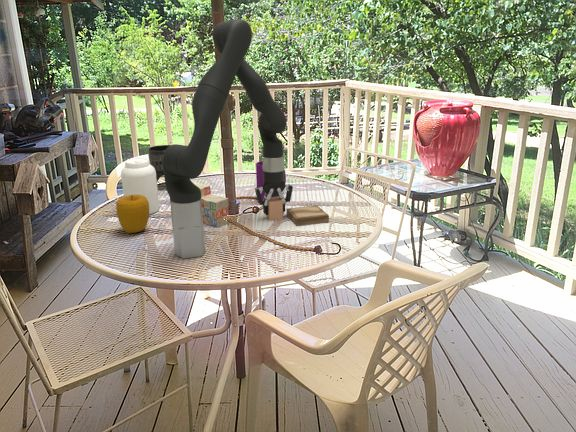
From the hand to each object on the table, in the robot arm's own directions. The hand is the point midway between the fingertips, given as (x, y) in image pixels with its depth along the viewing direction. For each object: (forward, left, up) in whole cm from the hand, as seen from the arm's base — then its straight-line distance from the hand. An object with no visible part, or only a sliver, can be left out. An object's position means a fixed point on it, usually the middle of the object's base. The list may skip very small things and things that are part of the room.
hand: (274, 213), depth 182 cm
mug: (+24, -6, -2) cm, 25 cm away
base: (-5, -11, -1) cm, 12 cm away
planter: (+53, +35, -2) cm, 64 cm away
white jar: (+23, +46, -2) cm, 51 cm away
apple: (+2, +49, -2) cm, 49 cm away
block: (0, 0, -2) cm, 2 cm away
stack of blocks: (+7, +25, -2) cm, 26 cm away
